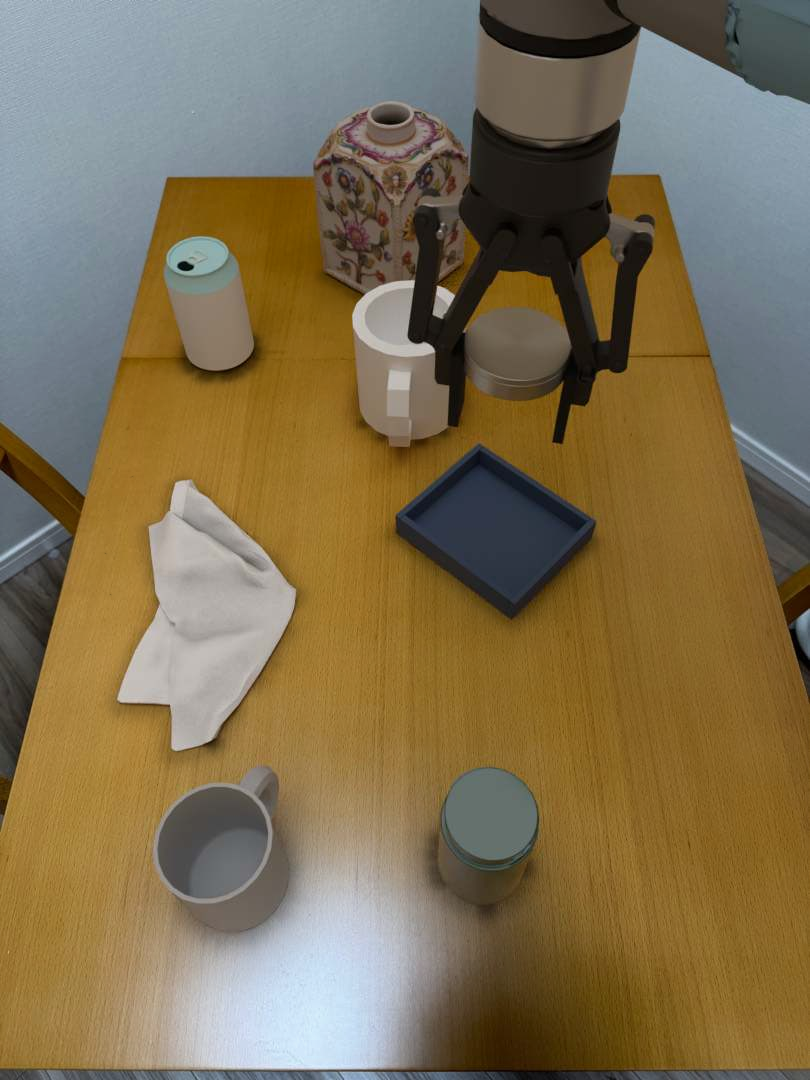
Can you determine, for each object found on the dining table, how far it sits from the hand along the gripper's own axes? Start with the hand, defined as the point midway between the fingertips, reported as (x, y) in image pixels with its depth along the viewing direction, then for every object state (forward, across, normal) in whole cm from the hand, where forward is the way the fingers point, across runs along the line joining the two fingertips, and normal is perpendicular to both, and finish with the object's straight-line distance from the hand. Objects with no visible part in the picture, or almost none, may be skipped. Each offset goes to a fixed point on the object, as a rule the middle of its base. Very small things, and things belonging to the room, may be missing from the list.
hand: (507, 420), depth 62 cm
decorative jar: (+16, +17, -35) cm, 42 cm away
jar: (+16, -4, +27) cm, 31 cm away
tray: (+16, 0, -1) cm, 16 cm away
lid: (-7, 0, 0) cm, 7 cm away
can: (+16, +32, -18) cm, 40 cm away
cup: (+16, +12, +30) cm, 36 cm away
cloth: (+16, +22, +11) cm, 29 cm away
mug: (+16, +11, -14) cm, 24 cm away
